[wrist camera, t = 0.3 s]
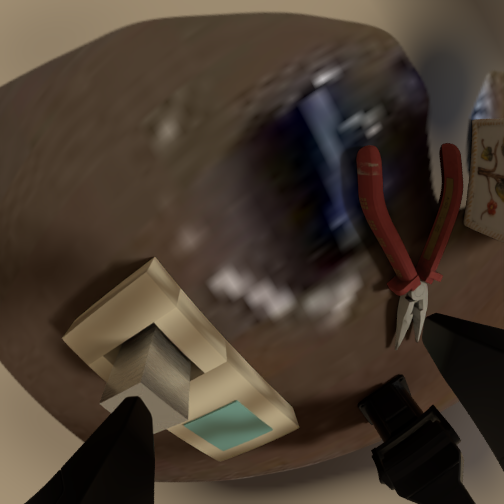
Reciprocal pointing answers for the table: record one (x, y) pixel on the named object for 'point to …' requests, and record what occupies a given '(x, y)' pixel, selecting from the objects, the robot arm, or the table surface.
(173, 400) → the steel block
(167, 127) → the table surface
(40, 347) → the table surface
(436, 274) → the pliers
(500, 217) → the decorative jar
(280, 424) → the beige slotted block
